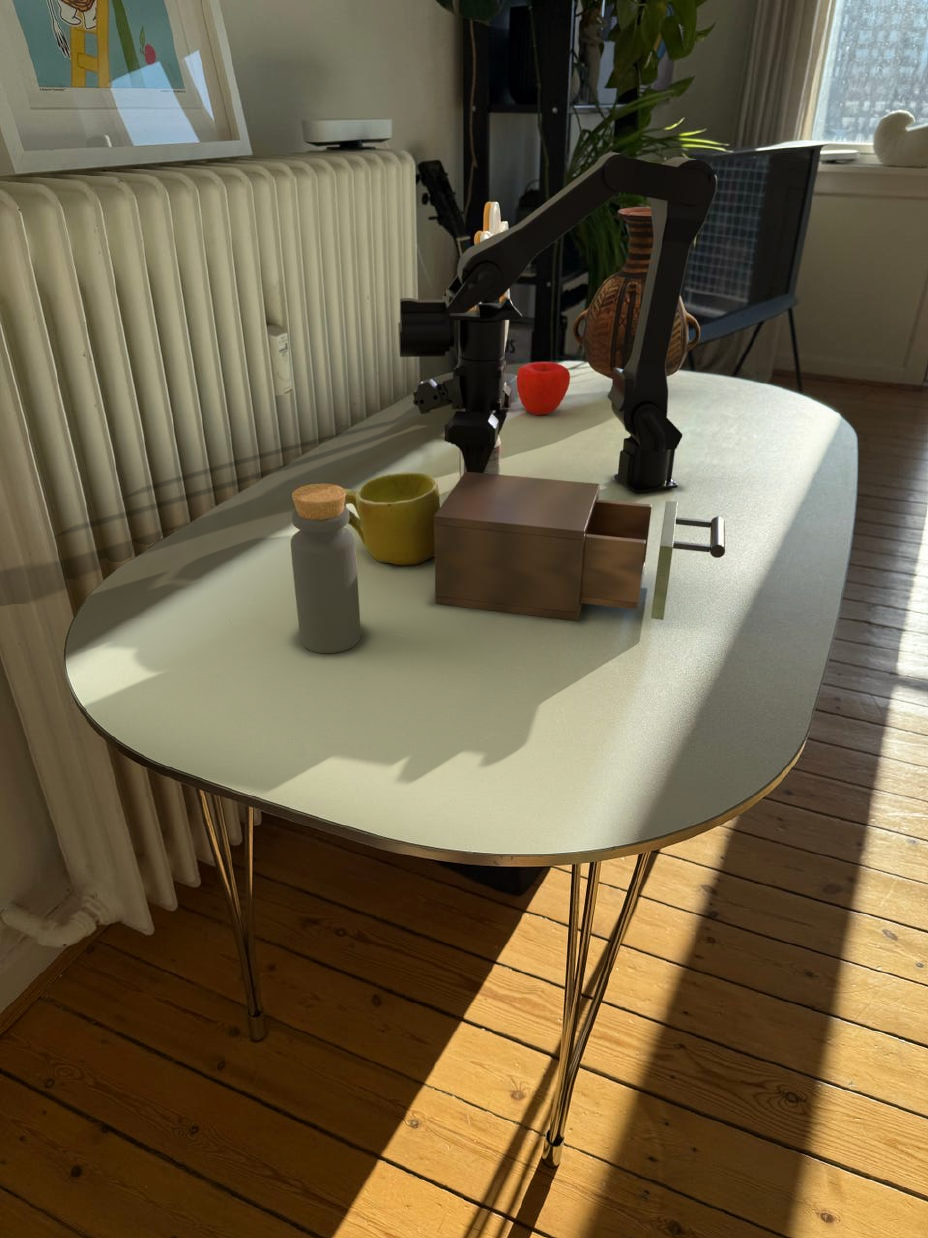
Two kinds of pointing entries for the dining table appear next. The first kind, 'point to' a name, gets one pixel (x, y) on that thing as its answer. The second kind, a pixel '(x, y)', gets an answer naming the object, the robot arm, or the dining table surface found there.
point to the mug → (396, 517)
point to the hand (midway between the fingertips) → (478, 474)
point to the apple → (542, 386)
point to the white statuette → (489, 229)
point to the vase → (628, 307)
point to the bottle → (325, 570)
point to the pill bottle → (493, 462)
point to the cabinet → (513, 544)
